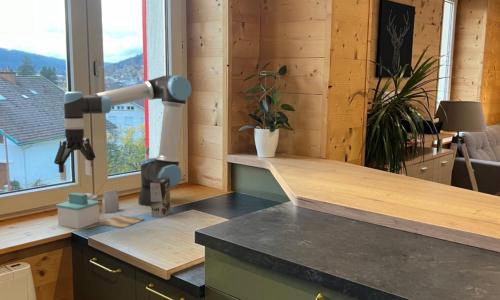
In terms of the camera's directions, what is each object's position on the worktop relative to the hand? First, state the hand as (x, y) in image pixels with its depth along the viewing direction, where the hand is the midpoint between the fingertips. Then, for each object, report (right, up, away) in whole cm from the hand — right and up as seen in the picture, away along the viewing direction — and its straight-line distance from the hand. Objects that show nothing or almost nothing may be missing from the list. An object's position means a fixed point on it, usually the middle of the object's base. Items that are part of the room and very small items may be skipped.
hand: (76, 177), depth 204 cm
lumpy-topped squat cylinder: (-4, -18, +21) cm, 28 cm away
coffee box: (+34, -18, +17) cm, 42 cm away
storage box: (0, -20, +3) cm, 20 cm away
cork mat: (+18, -20, +5) cm, 27 cm away
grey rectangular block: (+8, -18, +22) cm, 30 cm away
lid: (0, -12, +2) cm, 12 cm away
